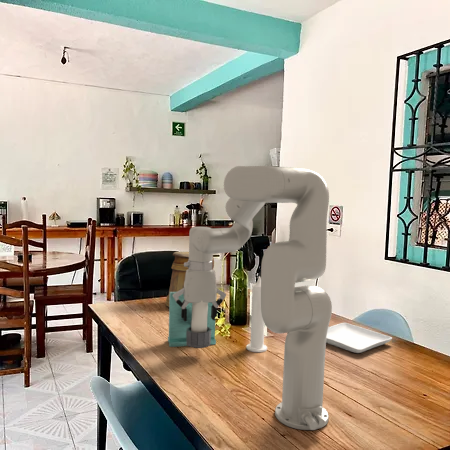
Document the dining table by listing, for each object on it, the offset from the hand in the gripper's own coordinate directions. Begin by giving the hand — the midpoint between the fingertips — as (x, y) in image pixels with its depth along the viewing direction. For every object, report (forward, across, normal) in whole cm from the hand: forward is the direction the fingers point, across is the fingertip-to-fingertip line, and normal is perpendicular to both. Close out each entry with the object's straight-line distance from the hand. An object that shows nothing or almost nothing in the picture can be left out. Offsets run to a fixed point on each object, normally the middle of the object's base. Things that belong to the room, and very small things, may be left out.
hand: (199, 319), depth 139 cm
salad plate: (+13, +57, +5) cm, 59 cm away
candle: (+12, +21, +4) cm, 25 cm away
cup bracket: (+12, 0, +6) cm, 14 cm away
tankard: (+12, +7, +62) cm, 64 cm away
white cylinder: (+7, 0, 0) cm, 7 cm away
